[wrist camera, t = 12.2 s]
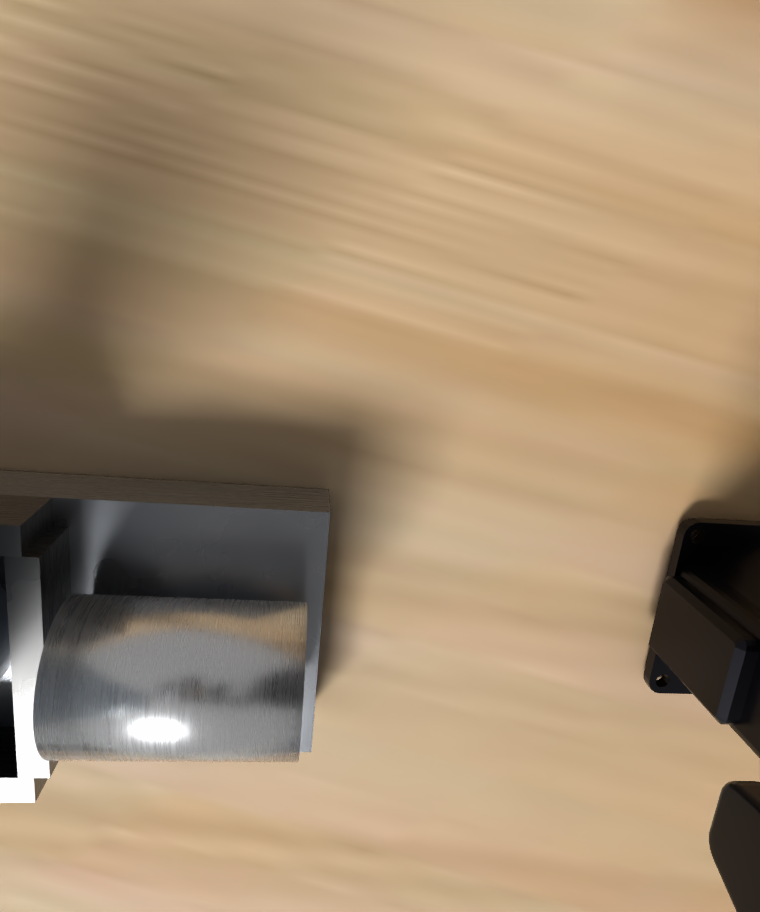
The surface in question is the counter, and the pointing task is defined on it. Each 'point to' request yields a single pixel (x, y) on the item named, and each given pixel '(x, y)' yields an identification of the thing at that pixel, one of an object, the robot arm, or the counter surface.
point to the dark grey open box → (157, 622)
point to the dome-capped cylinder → (4, 634)
